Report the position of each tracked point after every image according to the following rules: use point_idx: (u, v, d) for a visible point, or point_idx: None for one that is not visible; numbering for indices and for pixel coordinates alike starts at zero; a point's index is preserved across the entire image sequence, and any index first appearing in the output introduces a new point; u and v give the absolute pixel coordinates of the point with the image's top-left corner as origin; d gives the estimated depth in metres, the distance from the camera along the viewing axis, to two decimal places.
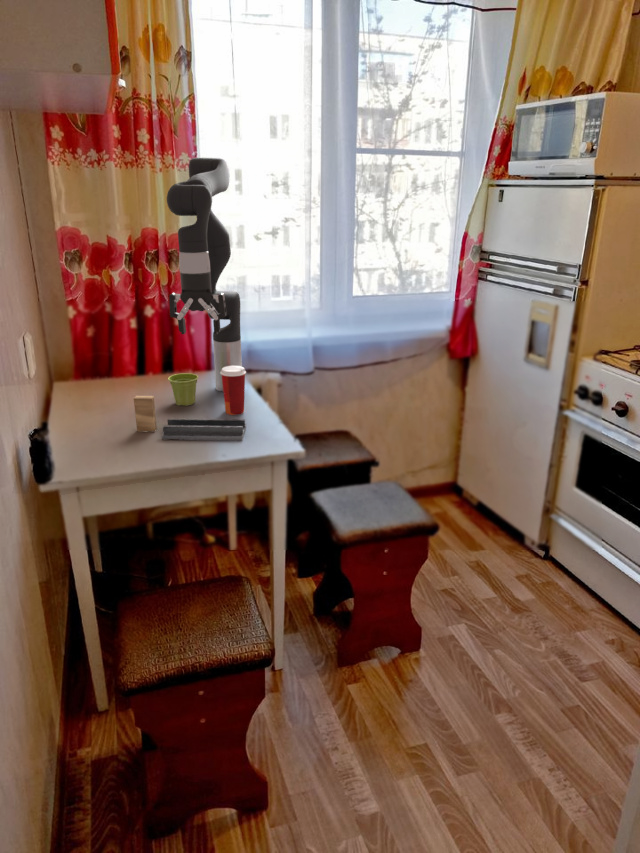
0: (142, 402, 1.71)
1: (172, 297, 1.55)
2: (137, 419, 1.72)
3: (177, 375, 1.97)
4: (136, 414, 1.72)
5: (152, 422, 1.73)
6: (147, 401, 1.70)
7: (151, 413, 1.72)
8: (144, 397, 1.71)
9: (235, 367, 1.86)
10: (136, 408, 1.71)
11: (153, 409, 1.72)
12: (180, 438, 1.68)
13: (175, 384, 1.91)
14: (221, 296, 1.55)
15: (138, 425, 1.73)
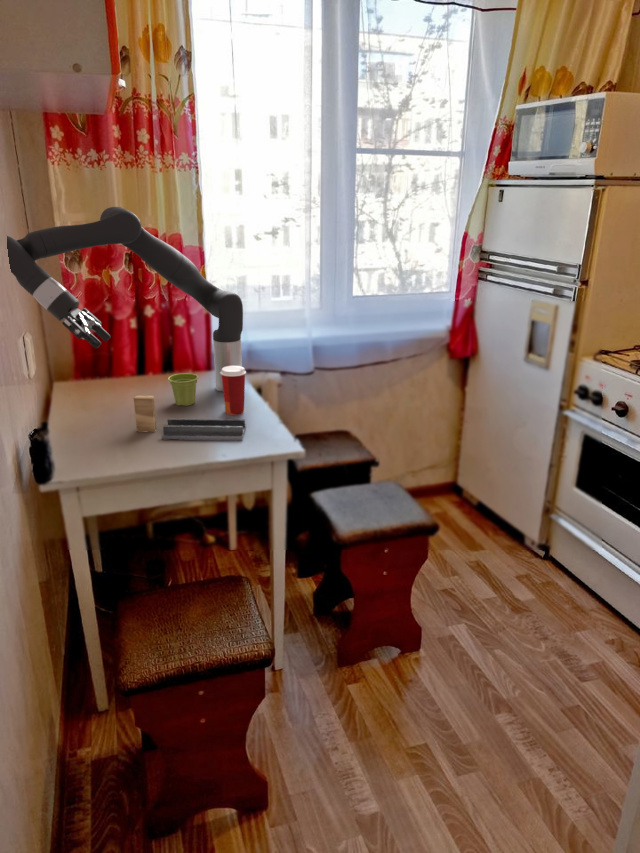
0: (142, 402, 1.71)
1: None
2: (137, 419, 1.72)
3: (177, 375, 1.97)
4: (136, 414, 1.72)
5: (152, 422, 1.73)
6: (147, 401, 1.70)
7: (151, 413, 1.72)
8: (144, 397, 1.71)
9: (235, 367, 1.86)
10: (136, 408, 1.71)
11: (153, 409, 1.72)
12: (180, 438, 1.68)
13: (175, 384, 1.91)
14: (63, 324, 1.58)
15: (138, 425, 1.73)
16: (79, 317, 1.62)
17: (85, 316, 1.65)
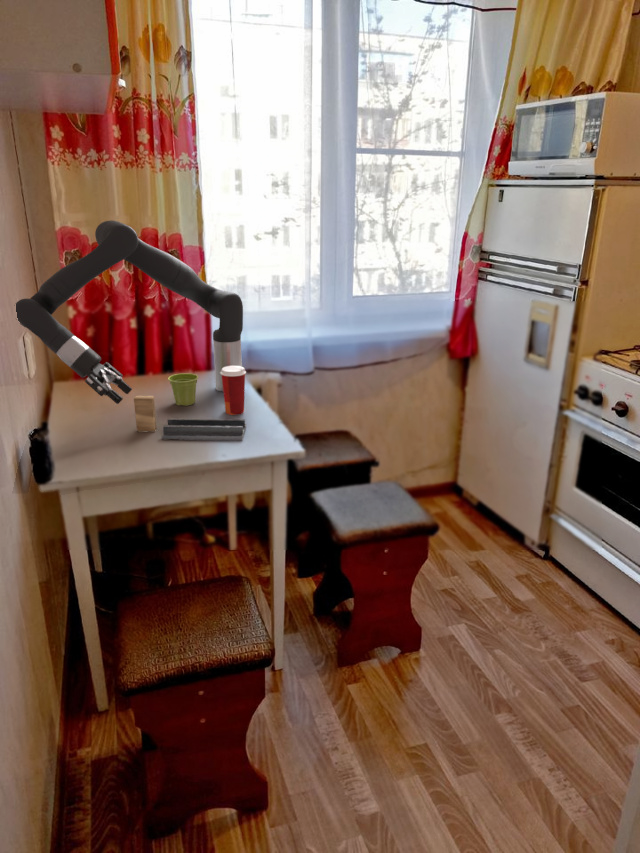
0: (142, 402, 1.71)
1: None
2: (137, 419, 1.72)
3: (177, 375, 1.97)
4: (136, 414, 1.72)
5: (152, 422, 1.73)
6: (147, 401, 1.70)
7: (151, 413, 1.72)
8: (144, 397, 1.71)
9: (235, 367, 1.86)
10: (136, 408, 1.71)
11: (153, 409, 1.72)
12: (180, 438, 1.68)
13: (175, 384, 1.91)
14: None
15: (138, 425, 1.73)
16: (101, 374, 1.67)
17: (107, 371, 1.70)
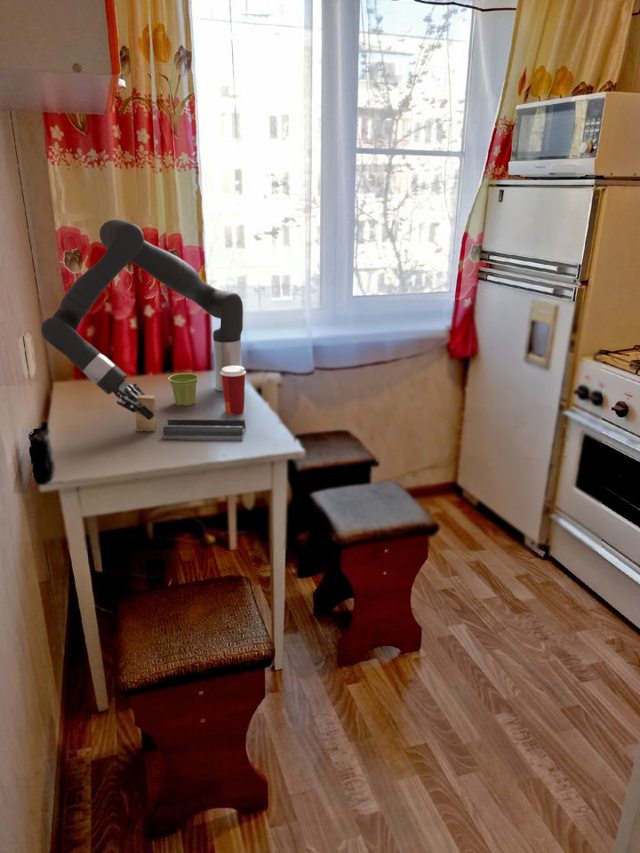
0: (143, 402, 1.70)
1: None
2: (137, 418, 1.72)
3: (177, 375, 1.97)
4: (136, 413, 1.72)
5: (152, 422, 1.73)
6: (148, 401, 1.70)
7: None
8: (145, 397, 1.71)
9: (235, 367, 1.86)
10: None
11: (154, 409, 1.72)
12: (180, 438, 1.68)
13: (175, 384, 1.91)
14: None
15: (138, 424, 1.73)
16: (129, 392, 1.69)
17: (131, 388, 1.71)
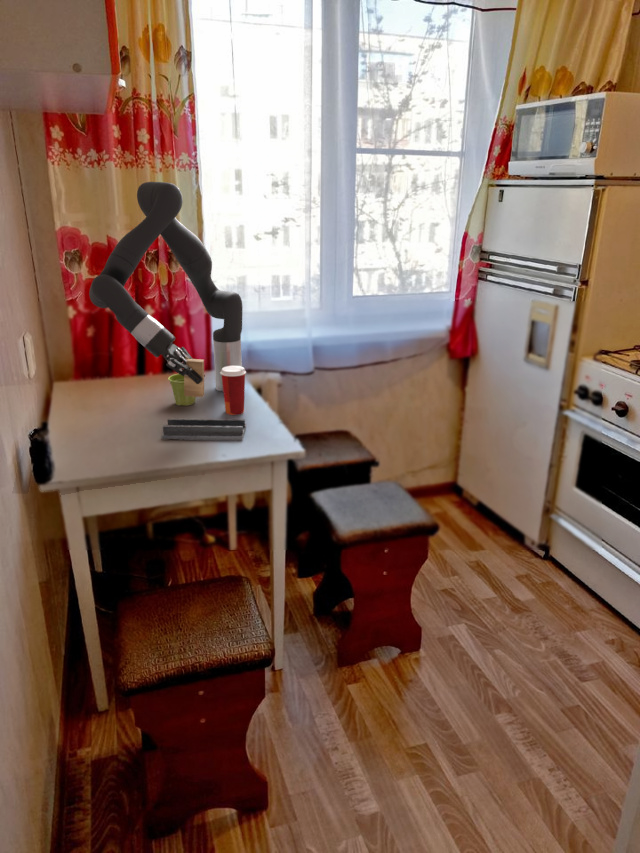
0: (192, 366, 1.65)
1: None
2: (185, 383, 1.67)
3: (177, 375, 1.97)
4: (185, 377, 1.66)
5: (201, 387, 1.67)
6: (197, 365, 1.65)
7: None
8: (194, 360, 1.66)
9: (235, 367, 1.86)
10: None
11: (202, 373, 1.67)
12: (180, 438, 1.68)
13: (175, 384, 1.91)
14: None
15: (186, 389, 1.68)
16: (178, 355, 1.63)
17: (180, 352, 1.66)
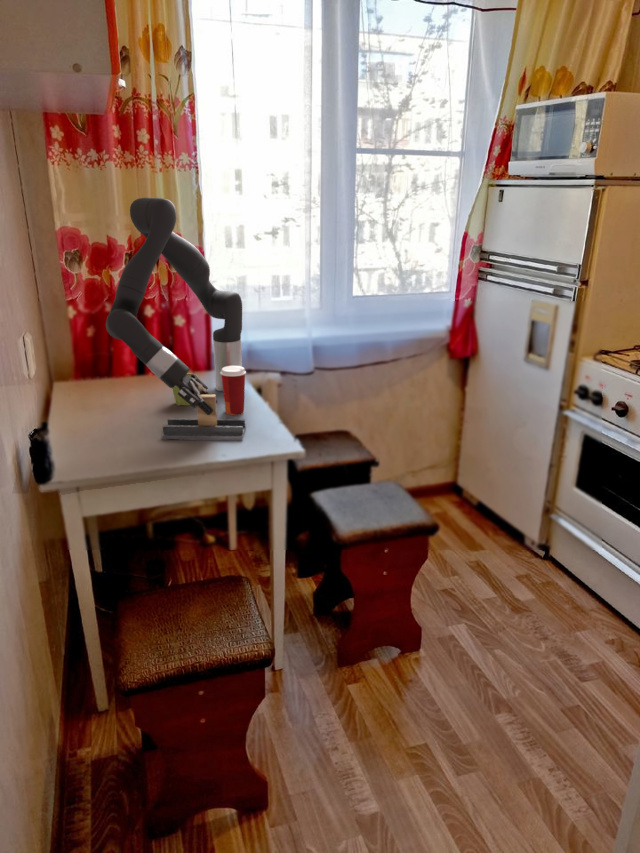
0: (205, 401, 1.68)
1: None
2: (199, 418, 1.70)
3: None
4: (198, 413, 1.69)
5: (214, 421, 1.71)
6: (209, 400, 1.68)
7: (213, 412, 1.70)
8: (206, 396, 1.69)
9: (235, 367, 1.86)
10: (198, 407, 1.69)
11: (215, 408, 1.70)
12: (180, 438, 1.68)
13: None
14: (178, 394, 1.62)
15: (200, 424, 1.71)
16: (191, 385, 1.66)
17: (194, 382, 1.69)
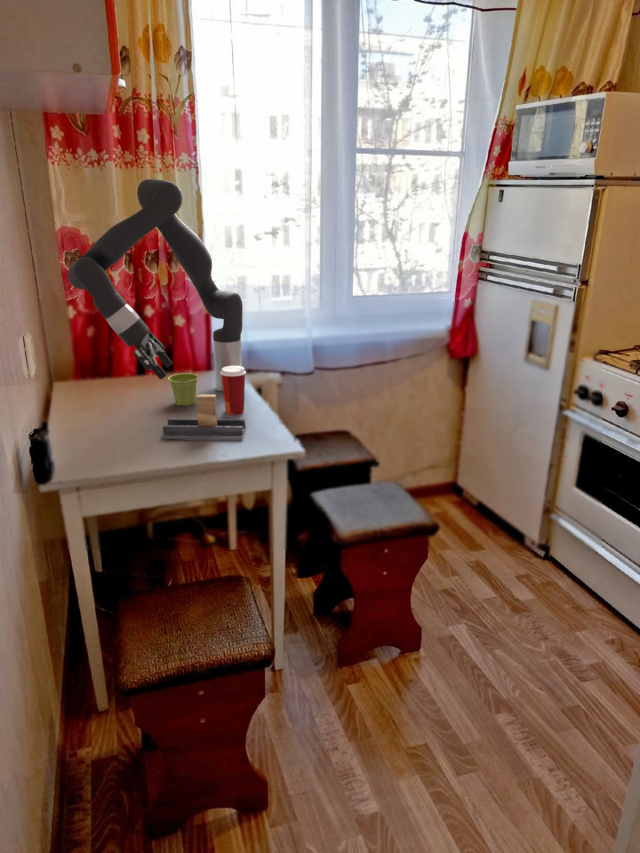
0: (205, 401, 1.68)
1: None
2: (199, 418, 1.70)
3: (177, 375, 1.97)
4: (198, 413, 1.69)
5: (214, 421, 1.71)
6: (209, 400, 1.68)
7: (213, 412, 1.70)
8: (206, 396, 1.69)
9: (235, 367, 1.86)
10: (198, 407, 1.69)
11: (215, 408, 1.70)
12: (180, 438, 1.68)
13: (175, 384, 1.91)
14: None
15: (200, 424, 1.71)
16: (149, 347, 1.65)
17: (153, 344, 1.68)
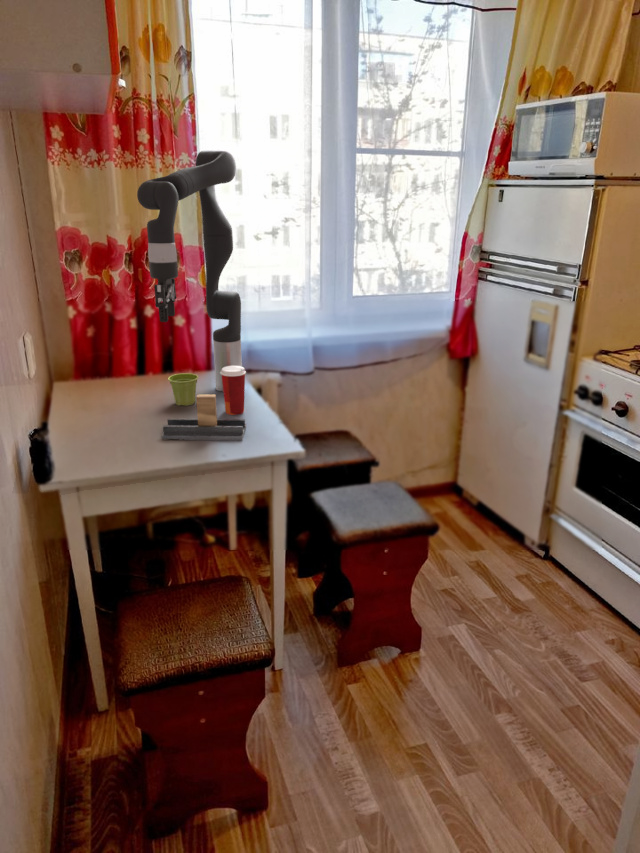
0: (205, 401, 1.68)
1: None
2: (199, 418, 1.70)
3: (177, 375, 1.97)
4: (198, 413, 1.69)
5: (214, 421, 1.71)
6: (209, 400, 1.68)
7: (213, 412, 1.70)
8: (206, 396, 1.69)
9: (235, 367, 1.86)
10: (198, 407, 1.69)
11: (215, 408, 1.70)
12: (180, 438, 1.68)
13: (175, 384, 1.91)
14: None
15: (200, 424, 1.71)
16: (168, 289, 1.68)
17: (171, 289, 1.71)
